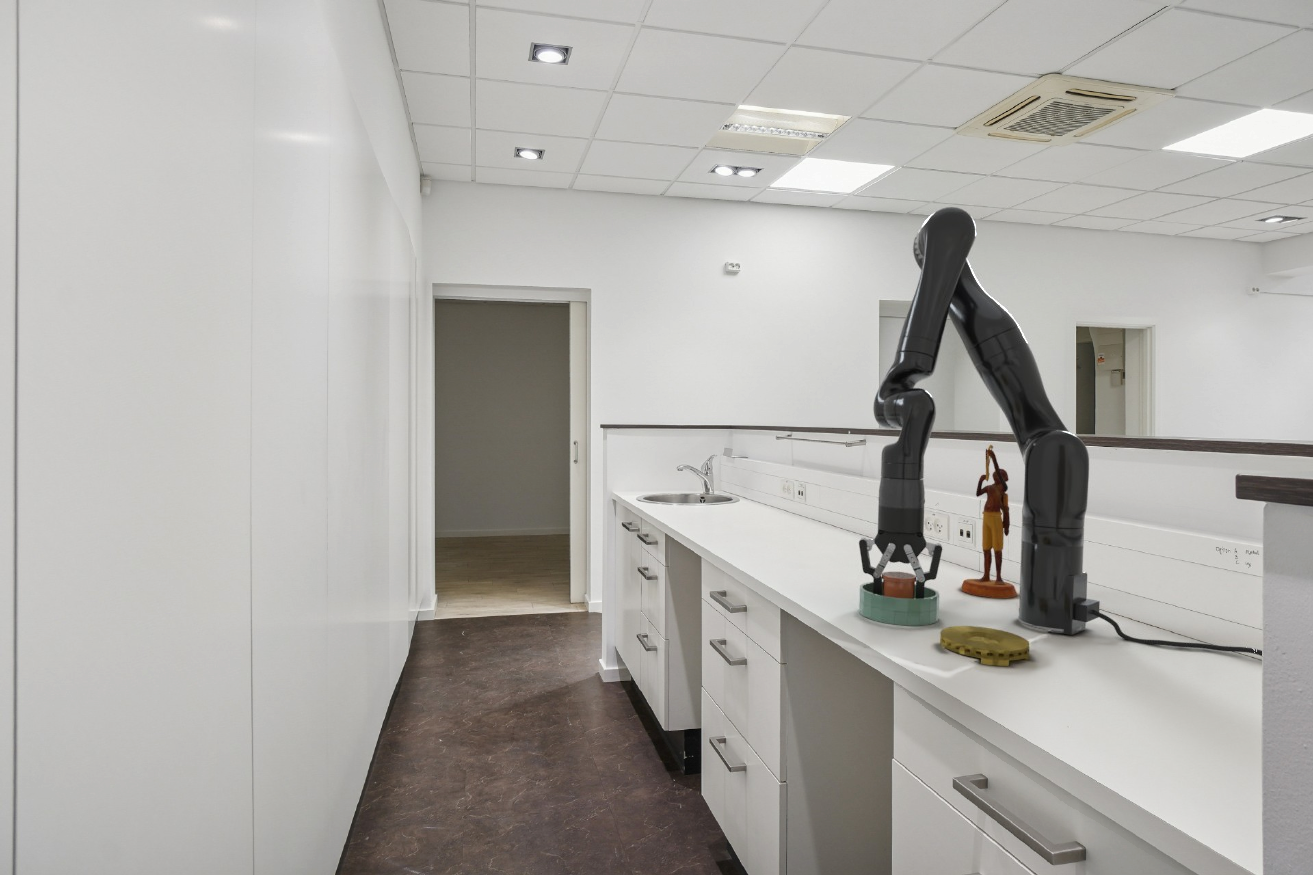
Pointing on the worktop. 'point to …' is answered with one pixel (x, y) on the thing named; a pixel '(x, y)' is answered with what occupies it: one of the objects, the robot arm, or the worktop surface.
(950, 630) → the olive yellow slotted disc
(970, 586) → the sculpture
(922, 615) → the bowl
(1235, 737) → the worktop surface
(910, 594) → the orange cylinder
